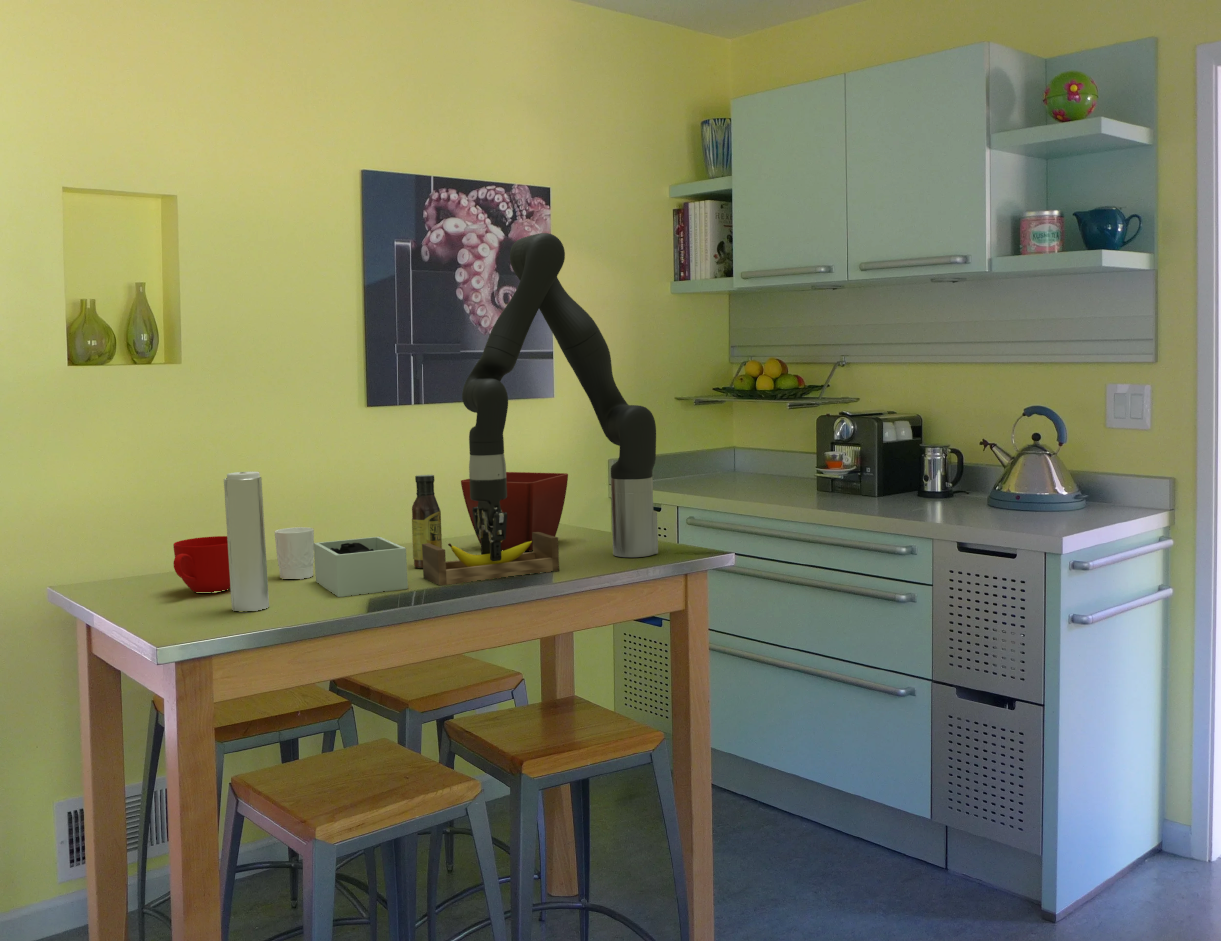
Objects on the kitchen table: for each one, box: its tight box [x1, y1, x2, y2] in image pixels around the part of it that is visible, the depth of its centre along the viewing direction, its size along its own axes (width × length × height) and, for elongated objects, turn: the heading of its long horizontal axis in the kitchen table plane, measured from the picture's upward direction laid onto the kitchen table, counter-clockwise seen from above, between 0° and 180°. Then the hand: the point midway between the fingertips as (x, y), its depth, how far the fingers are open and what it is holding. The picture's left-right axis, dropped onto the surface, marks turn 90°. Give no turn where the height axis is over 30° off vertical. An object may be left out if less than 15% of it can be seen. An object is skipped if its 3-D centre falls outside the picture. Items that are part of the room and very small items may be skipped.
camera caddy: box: [314, 536, 409, 598], centre depth 224 cm, size 14×19×8 cm
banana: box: [447, 541, 532, 567], centre depth 232 cm, size 3×19×6 cm, turn 122°
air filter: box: [223, 471, 270, 612], centre depth 204 cm, size 6×6×25 cm
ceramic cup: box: [173, 535, 231, 592], centre depth 221 cm, size 13×17×10 cm
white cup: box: [274, 526, 315, 580], centre depth 235 cm, size 8×8×10 cm
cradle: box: [422, 532, 560, 586], centre depth 232 cm, size 26×10×7 cm, turn 117°
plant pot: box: [460, 471, 569, 552], centre depth 265 cm, size 19×19×17 cm
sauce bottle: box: [411, 474, 443, 569], centre depth 242 cm, size 7×6×20 cm
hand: (491, 558), depth 232 cm, fingers open, 4 cm apart
